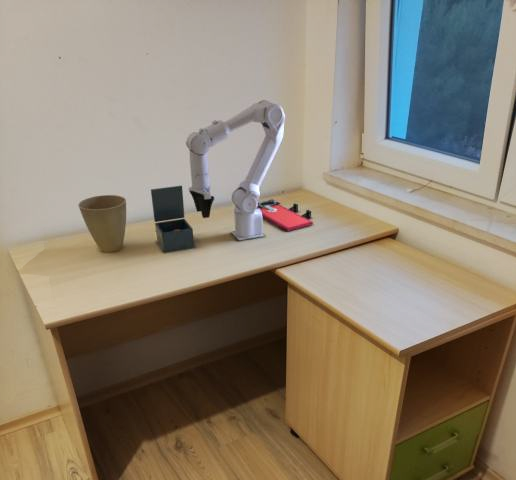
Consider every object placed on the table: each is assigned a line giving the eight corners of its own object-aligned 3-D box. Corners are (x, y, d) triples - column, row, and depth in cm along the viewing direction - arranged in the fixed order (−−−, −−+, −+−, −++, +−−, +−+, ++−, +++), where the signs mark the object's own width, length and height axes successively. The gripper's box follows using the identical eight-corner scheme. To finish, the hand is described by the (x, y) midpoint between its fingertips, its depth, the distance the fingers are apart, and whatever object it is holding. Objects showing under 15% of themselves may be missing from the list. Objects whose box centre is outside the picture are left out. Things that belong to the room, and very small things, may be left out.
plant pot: (139, 240, 176) (132, 195, 167) (123, 258, 164) (115, 210, 155) (99, 238, 178) (90, 193, 169) (80, 255, 166) (70, 208, 157)
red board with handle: (276, 200, 209) (245, 208, 202) (276, 193, 207) (244, 201, 201) (320, 223, 188) (287, 232, 182) (321, 216, 186) (287, 225, 180)
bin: (194, 247, 171) (192, 228, 167) (164, 252, 167) (161, 233, 164) (186, 236, 179) (184, 218, 175) (157, 241, 175) (154, 222, 172)
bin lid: (182, 186, 167) (181, 185, 168) (151, 190, 164) (150, 189, 165) (184, 217, 174) (183, 216, 175) (154, 222, 171) (154, 221, 172)
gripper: (181, 168, 166) (185, 209, 173) (194, 180, 154) (197, 223, 162) (202, 166, 168) (205, 206, 175) (216, 177, 157) (218, 219, 164)
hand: (203, 214), depth 169 cm, fingers open, 6 cm apart
